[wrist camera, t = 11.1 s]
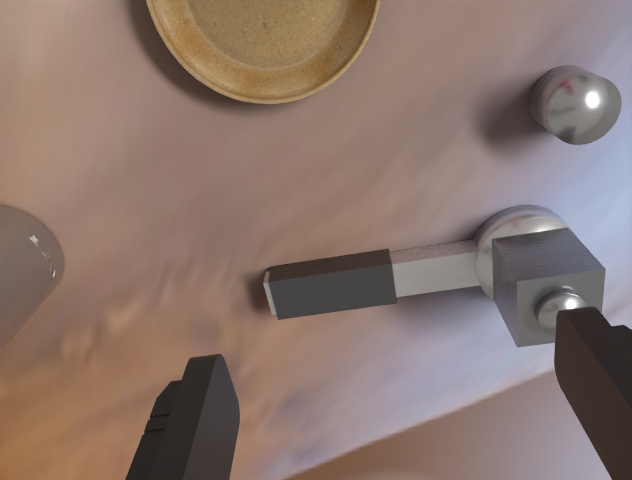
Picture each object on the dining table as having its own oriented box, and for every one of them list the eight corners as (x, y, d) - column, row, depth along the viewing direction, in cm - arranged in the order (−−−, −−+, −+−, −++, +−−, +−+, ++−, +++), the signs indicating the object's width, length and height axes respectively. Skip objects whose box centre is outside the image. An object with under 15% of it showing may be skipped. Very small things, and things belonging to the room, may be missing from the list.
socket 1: (529, 132, 38) (549, 150, 35) (529, 71, 36) (551, 83, 33) (591, 122, 38) (618, 138, 34) (594, 59, 36) (624, 70, 32)
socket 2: (493, 298, 42) (521, 354, 36) (491, 238, 40) (521, 288, 34) (564, 289, 42) (605, 344, 36) (567, 227, 39) (611, 275, 33)
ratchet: (279, 322, 47) (273, 369, 41) (259, 246, 43) (249, 285, 38) (567, 282, 44) (599, 326, 39) (571, 197, 40) (607, 232, 35)
